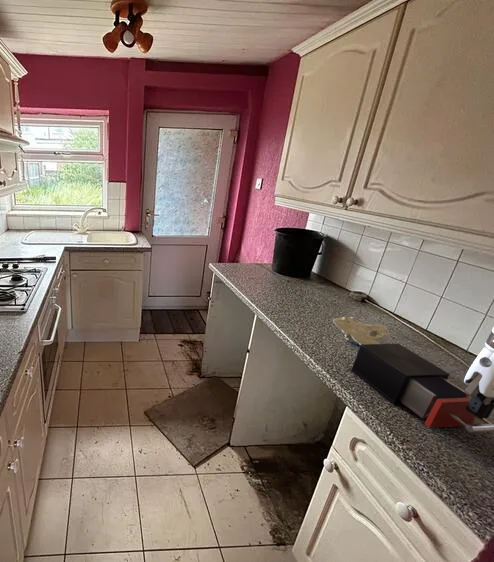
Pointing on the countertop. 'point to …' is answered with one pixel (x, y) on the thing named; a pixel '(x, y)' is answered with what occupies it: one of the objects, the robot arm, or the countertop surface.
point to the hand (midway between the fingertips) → (476, 413)
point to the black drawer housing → (392, 368)
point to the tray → (441, 404)
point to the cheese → (362, 331)
